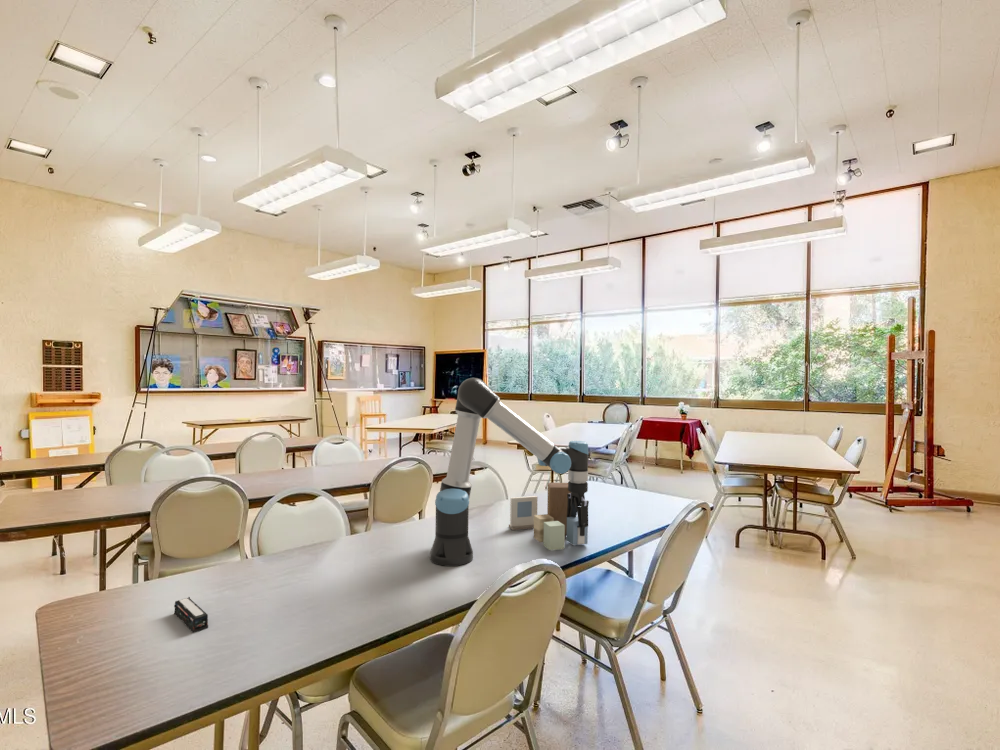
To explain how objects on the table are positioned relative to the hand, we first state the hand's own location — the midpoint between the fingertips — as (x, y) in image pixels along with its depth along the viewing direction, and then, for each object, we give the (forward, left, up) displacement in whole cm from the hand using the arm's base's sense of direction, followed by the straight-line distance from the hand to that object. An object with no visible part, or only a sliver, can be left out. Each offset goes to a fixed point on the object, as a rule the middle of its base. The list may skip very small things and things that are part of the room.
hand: (576, 540), depth 194 cm
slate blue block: (0, 0, 0) cm, 0 cm away
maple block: (-10, +10, -1) cm, 14 cm away
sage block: (-10, 0, -1) cm, 10 cm away
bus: (-124, -28, -2) cm, 128 cm away
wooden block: (0, +16, -2) cm, 16 cm away
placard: (-12, +27, -1) cm, 29 cm away
